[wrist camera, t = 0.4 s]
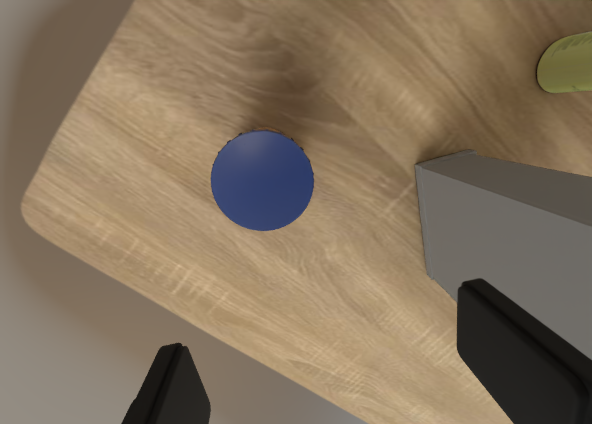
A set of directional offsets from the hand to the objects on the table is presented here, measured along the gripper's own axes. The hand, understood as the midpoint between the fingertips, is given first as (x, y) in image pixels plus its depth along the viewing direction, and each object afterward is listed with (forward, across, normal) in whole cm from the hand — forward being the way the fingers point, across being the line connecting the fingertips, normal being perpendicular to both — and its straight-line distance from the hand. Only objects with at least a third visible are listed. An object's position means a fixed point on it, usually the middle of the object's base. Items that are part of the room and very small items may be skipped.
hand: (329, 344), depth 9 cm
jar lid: (+11, +2, -4) cm, 12 cm away
